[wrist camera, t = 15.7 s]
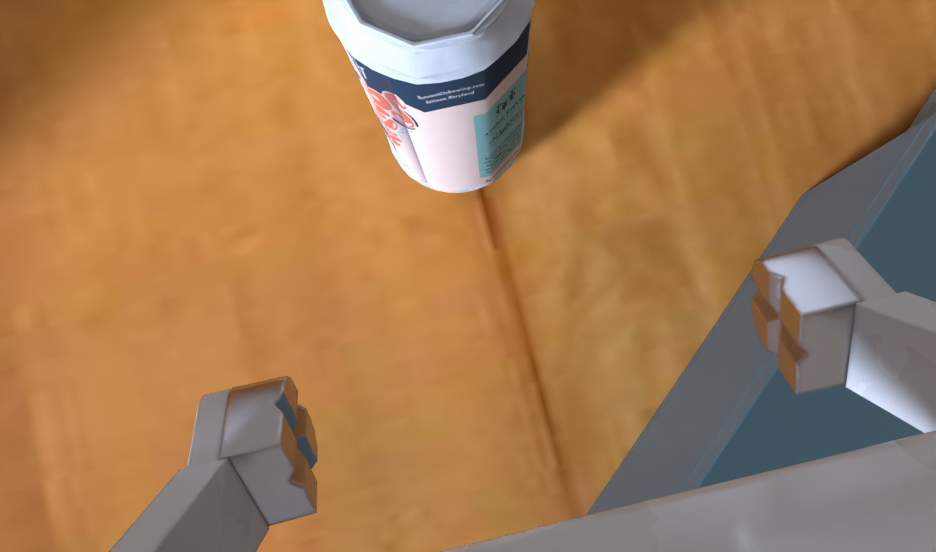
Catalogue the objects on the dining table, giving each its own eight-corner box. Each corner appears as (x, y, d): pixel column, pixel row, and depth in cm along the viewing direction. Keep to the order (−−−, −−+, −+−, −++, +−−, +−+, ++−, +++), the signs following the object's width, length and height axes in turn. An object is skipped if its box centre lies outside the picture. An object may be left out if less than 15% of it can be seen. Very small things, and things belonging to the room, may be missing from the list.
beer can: (398, 58, 29) (326, -161, 17) (531, 70, 29) (551, -144, 17) (381, 189, 29) (296, 55, 17) (517, 203, 28) (527, 76, 16)
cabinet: (803, 192, 28) (950, 102, 19) (1168, 429, 27) (1521, 456, 17) (523, 607, 27) (535, 728, 18) (891, 878, 25) (1114, 1167, 16)
